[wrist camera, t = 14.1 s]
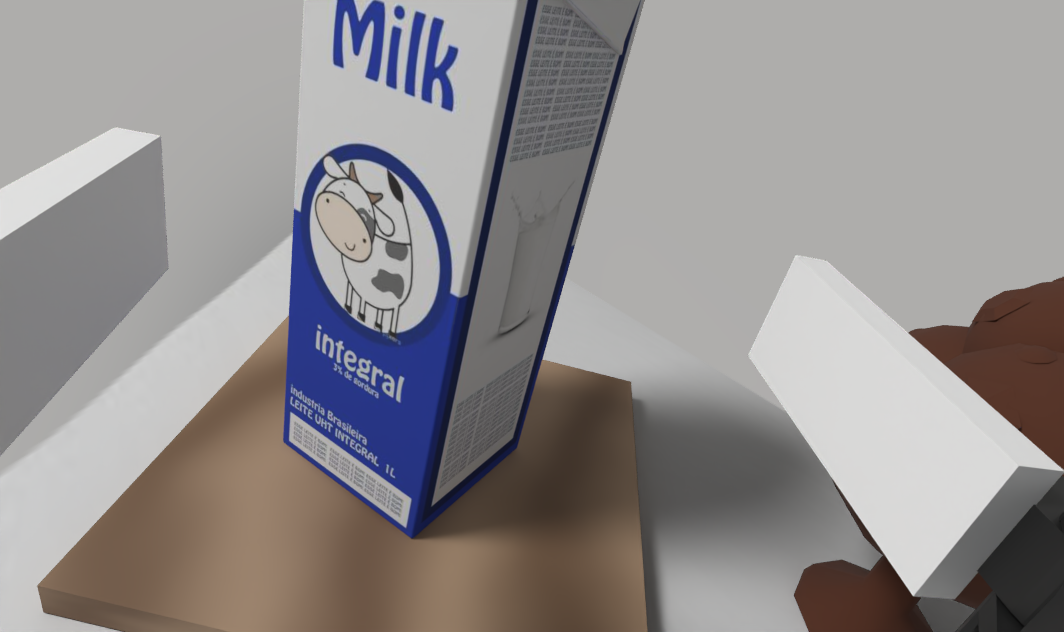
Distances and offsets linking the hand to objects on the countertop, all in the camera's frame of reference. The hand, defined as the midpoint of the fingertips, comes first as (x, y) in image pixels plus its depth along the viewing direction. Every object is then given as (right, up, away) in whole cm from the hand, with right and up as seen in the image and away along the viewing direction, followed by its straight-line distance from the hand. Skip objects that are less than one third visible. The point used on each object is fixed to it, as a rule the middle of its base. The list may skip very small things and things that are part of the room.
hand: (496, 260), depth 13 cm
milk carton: (-4, -7, +13) cm, 15 cm away
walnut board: (-4, -8, +13) cm, 16 cm away
